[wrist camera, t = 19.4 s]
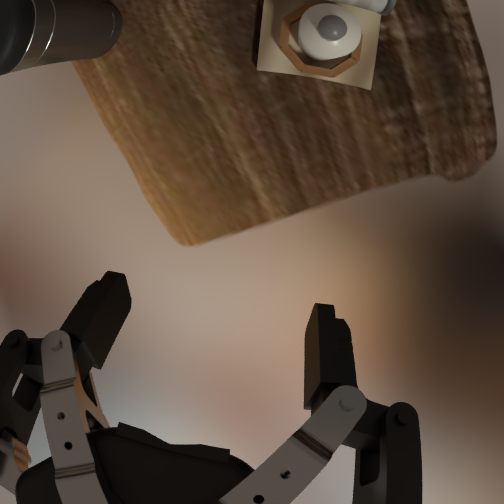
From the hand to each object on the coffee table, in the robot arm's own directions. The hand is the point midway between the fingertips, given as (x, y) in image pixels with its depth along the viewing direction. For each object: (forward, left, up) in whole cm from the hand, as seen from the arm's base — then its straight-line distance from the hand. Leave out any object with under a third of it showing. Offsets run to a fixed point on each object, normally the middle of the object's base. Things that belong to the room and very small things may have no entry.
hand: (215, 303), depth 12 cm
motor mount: (+5, +17, -30) cm, 35 cm away
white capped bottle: (+5, +13, -28) cm, 32 cm away
